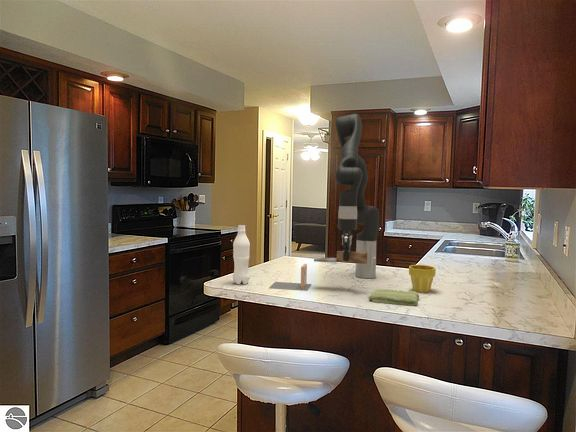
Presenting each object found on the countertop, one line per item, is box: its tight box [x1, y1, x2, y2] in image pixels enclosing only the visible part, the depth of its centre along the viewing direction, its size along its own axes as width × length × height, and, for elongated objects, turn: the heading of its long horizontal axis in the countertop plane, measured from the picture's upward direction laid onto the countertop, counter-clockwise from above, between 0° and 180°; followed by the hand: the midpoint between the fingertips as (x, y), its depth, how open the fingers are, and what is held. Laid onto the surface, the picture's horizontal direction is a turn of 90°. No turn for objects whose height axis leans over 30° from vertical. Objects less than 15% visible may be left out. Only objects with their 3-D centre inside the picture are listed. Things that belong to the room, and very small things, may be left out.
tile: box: [300, 263, 308, 289], centre depth 174 cm, size 1×7×9 cm, turn 168°
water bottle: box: [232, 224, 251, 285], centre depth 180 cm, size 7×7×25 cm
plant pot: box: [408, 264, 437, 293], centre depth 173 cm, size 10×10×10 cm
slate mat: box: [268, 281, 313, 292], centre depth 175 cm, size 16×12×1 cm
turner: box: [313, 250, 368, 264], centre depth 170 cm, size 21×6×4 cm, turn 78°
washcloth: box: [367, 289, 420, 307], centre depth 158 cm, size 13×18×3 cm
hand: (346, 259), depth 170 cm, fingers closed on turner, 4 cm apart
